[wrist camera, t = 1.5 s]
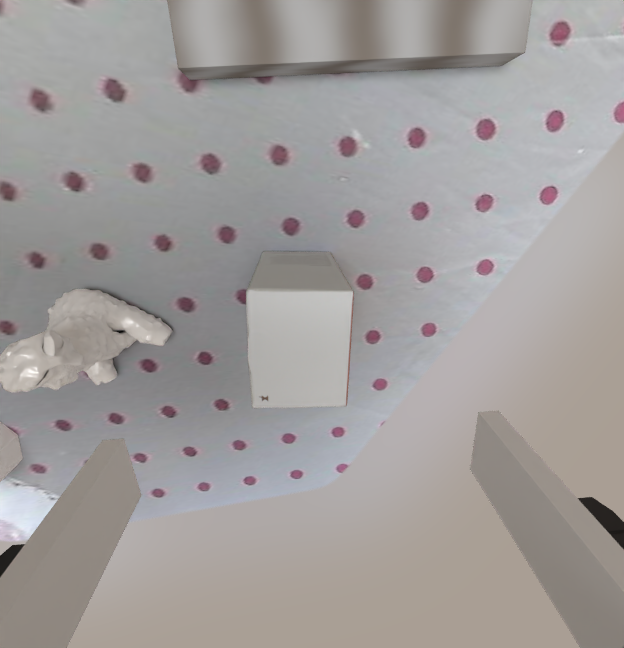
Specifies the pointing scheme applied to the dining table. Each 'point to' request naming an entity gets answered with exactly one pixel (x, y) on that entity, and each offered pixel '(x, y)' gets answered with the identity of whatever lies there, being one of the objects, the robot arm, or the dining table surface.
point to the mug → (8, 451)
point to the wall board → (343, 35)
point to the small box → (298, 331)
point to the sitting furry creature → (78, 342)
